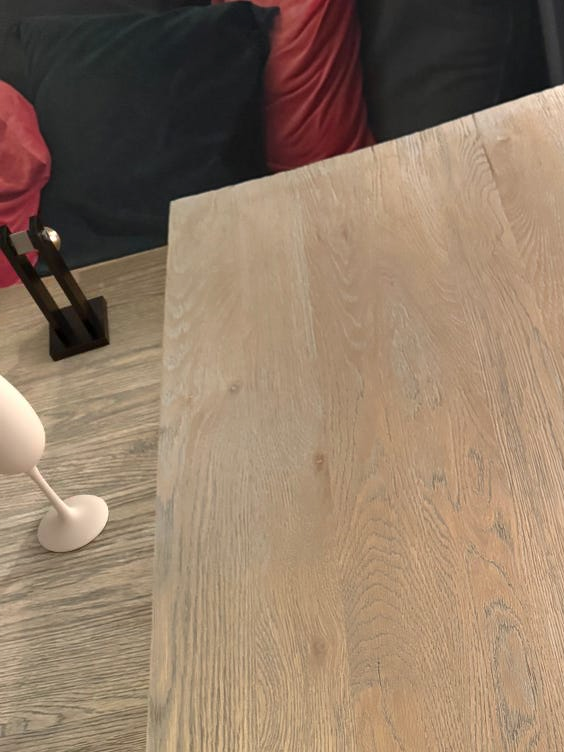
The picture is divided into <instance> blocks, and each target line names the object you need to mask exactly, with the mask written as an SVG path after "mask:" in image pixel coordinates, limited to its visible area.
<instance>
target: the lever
mask: <svg viewBox="0 0 564 752" xmlns="http://www.w3.org/2000/svg"><path fill="white" fill-rule="evenodd" d="M43 227H44V229H45V230H46V231H47V232H48V234H49V236H50V239H51V240H52V242H53V244H54V245H55V247H56V249H57V250H58V251H59V250H60V249H61V238H60V235H59V234H58V233H57V231H55V230H54V229H52V228H51V227H48V226H43ZM9 236H10V238H11V240H12V242H13V244H14V247H15V249H16V251H17V253H18V255H21V254H25V255H27V254H30V253H34V252H38V253H39V251H38V250H37V248H36V246H35V245H34V243H33V241H32V240H31V238H30V237H29V229H25V230H21V231H17V232H15V233H12V234H11V235H9Z"/></svg>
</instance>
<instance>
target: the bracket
mask: <svg viewBox="0 0 564 752" xmlns="http://www.w3.org/2000/svg"><path fill="white" fill-rule="evenodd" d="M44 227H45V226H44V225H43V223H42V222H41V220H40V219H39V216H38V215H37V214H34V215H31V216H29V217H28V230H29V237H30V238H31V240H32V241H33V243H34V245H35V246H36V248H37V250H38V251H39V252H38V251H37V252H38V254H40V256H41V258H42V259H43V261H44V263H45V264H46V266H47V267H48V269H49V270H50V272H51V274H52V275H53V277H54V279H55V280H56V282H57V283H58V286H60V289H61V290H62V292H63V293H64V295H65V297H66V298H67V300H68V301H69V303H70V305H67V306H64V307H61V308H60V307H59V305H58V303H57V302H56V301H55V299H54V297H53V296H52V294H51V293H50V291H49V289H48V287H47V286H46V284H45V283H44V282H43V280H42V278H41V276H40V275H39V274H38V272H37V271H36V269H35V267H34V266H33V265H32V262H31V261H30V260H29V258H28V256H27V254H21V255H18V253H17V251H16V249H15V247H14V244H13V242H12V240H11V238H10V236H9V235H11V234H13V233H12V230H11V229H10V228H9V226H8V224H6V223H5V224H2V225H0V251H1V252H2V254H3V255H4V257H5V258H6V260H7V261H8V263H9V264H10V267H12V269H13V271H14V272H15V273H16V275H17V277H18V279H19V280H20V281H21V282H22V284H23V286H24V287H25V289H26V290H27V292H28V294H29V295H30V296H31V298H32V299H33V301H34V303H35V304H36V305H37V307H38V308H39V310H40V313H42V315H43V316H44V318H45V319H46V321H47V322H48V353H49V354H48V355H49V357H50V358H51V360H52V361H53V362H58V361H61V360H63V359H64V360H65V359H67V358H69V357H73V356H77V355H79V354H83V353H85V352H86V353H87V352H88V351H92V350H95V349H98V348H101V347H104V346H108V345H110V332H109V331H110V330H109V318H108V302H107V300H106V298H105V297H104V295H102V294H101V295H99V296H95V297H93V298H89V299H87V297H86V295H85V294H84V292H83V291H82V289H81V287H80V285H79V283H78V282H77V280H76V278H75V277H74V276H73V273H72V271H71V270H70V269H69V267H68V266H67V264H66V262H65V261H64V258H63V257H62V255H61V254H60V252H59V250H57V249H56V247H55V245H54V244H53V242H52V240H51V239H50V236H49V234H48V232H47V231H46V230H45V229H44Z"/></svg>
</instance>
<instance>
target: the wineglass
mask: <svg viewBox="0 0 564 752" xmlns="http://www.w3.org/2000/svg"><path fill="white" fill-rule="evenodd" d="M42 423H43V422H42V421H41V419H40V417H39V416H38V414H37V413H36V411H35V409H34V408H33V407H32V406H31V404H30V402H29V401H28V399H26V398H25V397H24V396H23V394H22V393H21V392H20V391H19V390H17V388H16V387H15V386H14V385H13V384H11V383H10V382H9V381H8V380H7V379H6V378H5V377H4V376H2V375H1V374H0V475H5V476H11V475H20V474H25V475H26V476H28V477H29V478H30V479H31V480H32V481H33V482H34V483H35V485H36V486H37V487H38V488H39V489H40V490H41V491H42V493H43V494H44V495H45V497H46V498H47V499H48V501H49V502H50V504H51V505H52V507H51V508H50V509H49V510H48V511H47V512H46V513H45V514H44V516H43V517H42V519H41V520H40V522H39V524H38V528H37V540H38V542H39V544H40V545H41V546H42V547H43V548H44V549H46V550H48V551H50V552H56V553H65V552H72V551H75V550H77V549H80V548H82V547H85V546H86V545H88V544H89V543H91V542H92V541H93V540H94V539H96V538H97V537H98V536H99V534H100V533H101V532H102V531H103V530H104V528H105V526H106V524H107V522H108V519H109V507H108V505H107V503H106V501H105V500H104V499H103V498H101V497H99V496H96V495H93V494H77V495H74V496H70V497H68V498H64V499H63V500H62V499H61V498H60V497H59V496H58V495H57V493H56V492H55V491H54V490H53V489H52V488H51V487H50V485H49V484H48V483H47V481H46V480H45V479H44V477H43V476H42V475H41V472H40V471H39V468H38V467H37V464H38V463H39V461H40V460H41V458H42V456H43V454H44V451H45V447H46V432H45V428H44V425H43V424H42Z"/></svg>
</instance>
